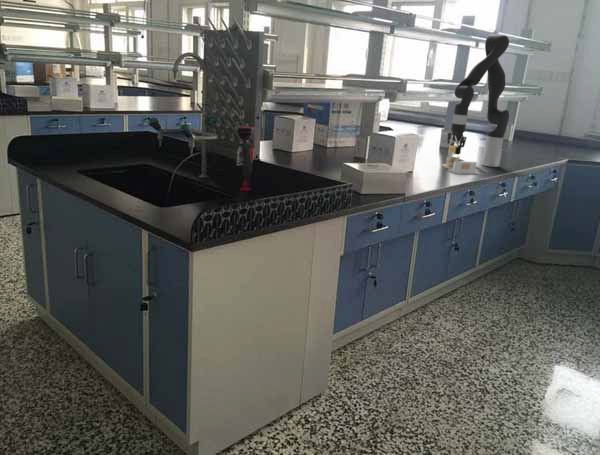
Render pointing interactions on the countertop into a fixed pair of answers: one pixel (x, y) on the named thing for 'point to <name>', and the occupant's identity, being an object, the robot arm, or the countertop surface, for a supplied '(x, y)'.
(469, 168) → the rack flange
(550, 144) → the countertop surface
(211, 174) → the countertop surface
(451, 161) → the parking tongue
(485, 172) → the caliper
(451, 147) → the u clip
